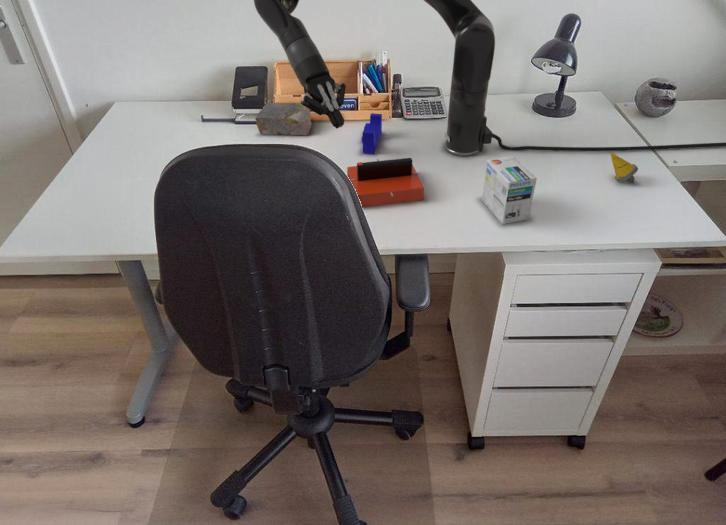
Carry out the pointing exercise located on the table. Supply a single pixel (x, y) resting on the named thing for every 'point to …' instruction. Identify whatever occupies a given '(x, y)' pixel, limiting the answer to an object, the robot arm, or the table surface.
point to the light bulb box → (508, 189)
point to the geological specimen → (284, 119)
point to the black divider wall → (384, 169)
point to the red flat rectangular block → (387, 188)
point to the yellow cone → (623, 169)
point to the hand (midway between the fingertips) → (340, 126)
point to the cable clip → (372, 133)
